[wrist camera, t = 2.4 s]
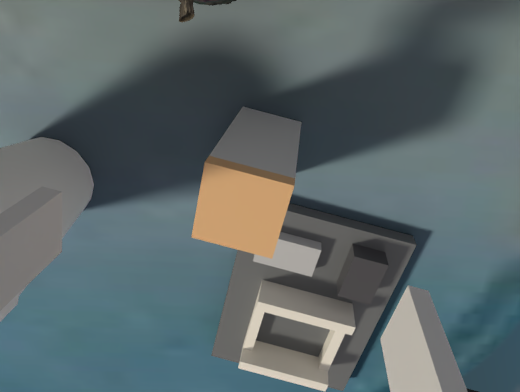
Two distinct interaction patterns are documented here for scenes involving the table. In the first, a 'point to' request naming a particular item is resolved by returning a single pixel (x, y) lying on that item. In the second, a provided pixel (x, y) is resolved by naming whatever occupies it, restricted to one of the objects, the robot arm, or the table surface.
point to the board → (311, 298)
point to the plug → (248, 183)
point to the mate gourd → (187, 7)
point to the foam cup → (44, 180)
